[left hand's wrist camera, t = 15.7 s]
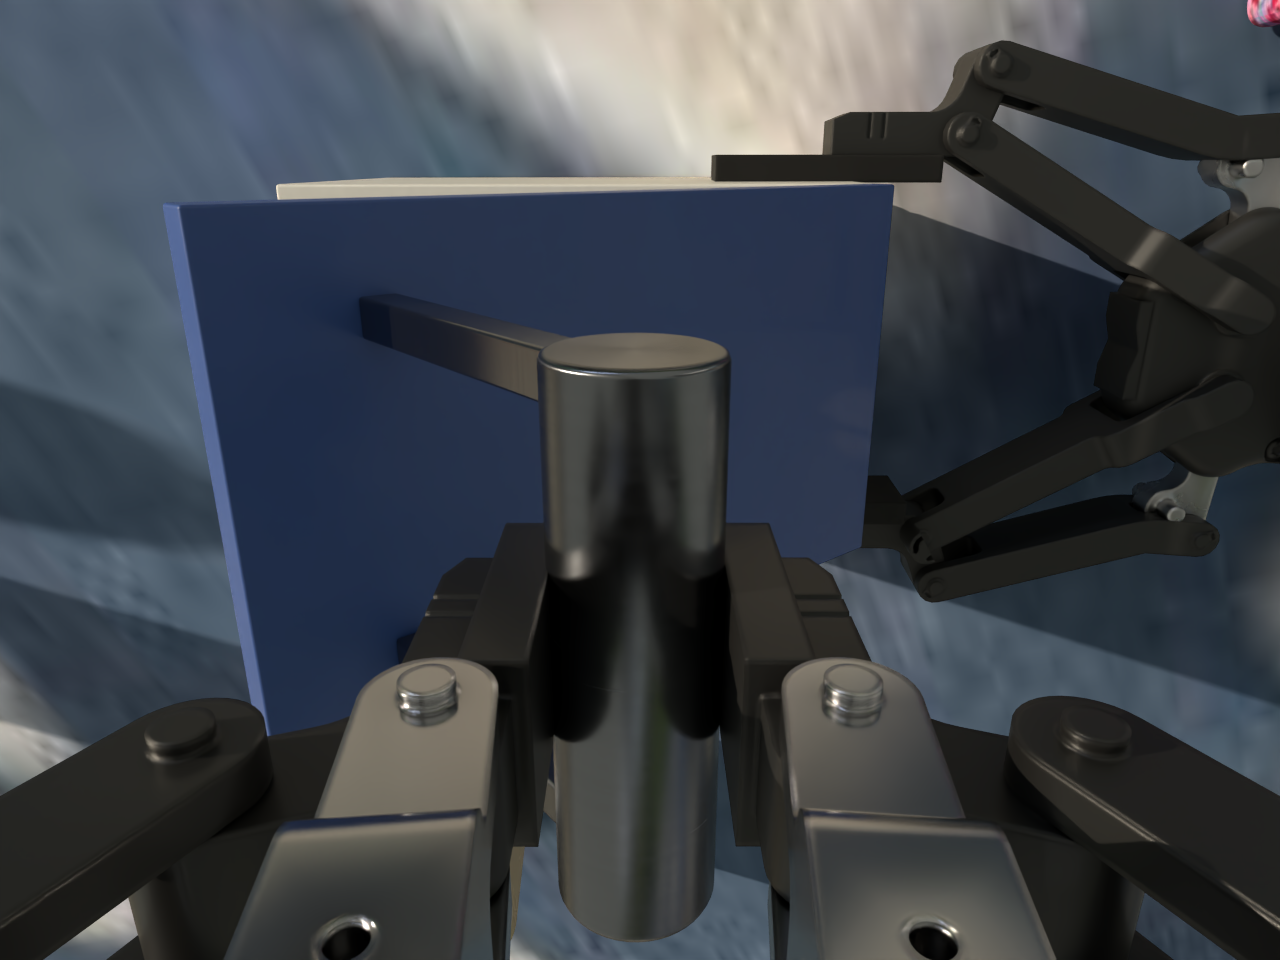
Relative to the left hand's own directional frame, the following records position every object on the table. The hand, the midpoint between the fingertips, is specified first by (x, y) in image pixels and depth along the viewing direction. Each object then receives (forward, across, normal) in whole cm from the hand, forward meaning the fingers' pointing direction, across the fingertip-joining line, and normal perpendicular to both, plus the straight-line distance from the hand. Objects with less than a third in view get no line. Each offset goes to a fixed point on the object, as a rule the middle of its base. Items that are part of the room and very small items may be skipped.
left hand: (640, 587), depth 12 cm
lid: (+8, -1, 0) cm, 8 cm away
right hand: (+18, +2, 0) cm, 18 cm away
